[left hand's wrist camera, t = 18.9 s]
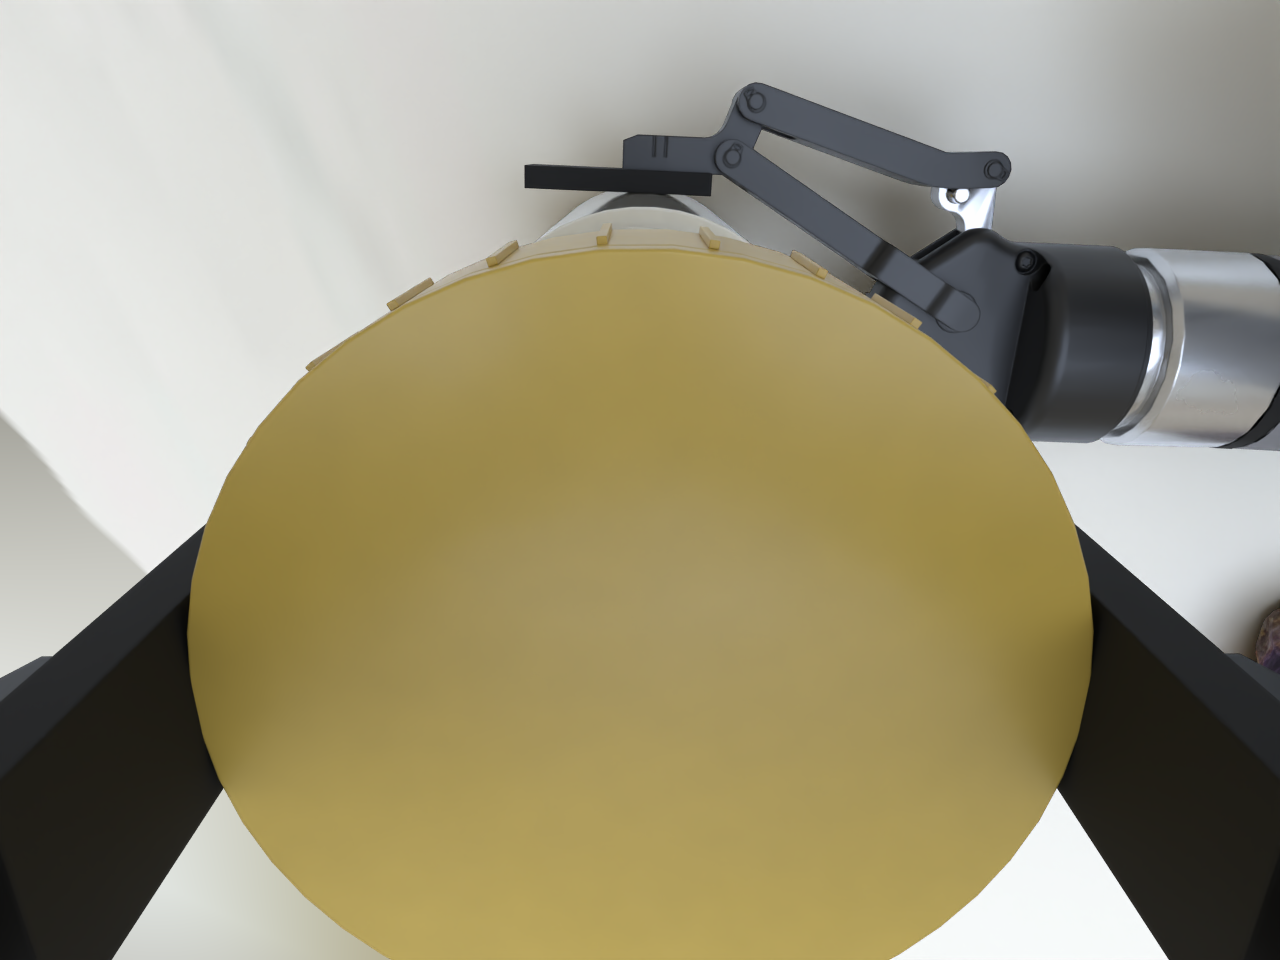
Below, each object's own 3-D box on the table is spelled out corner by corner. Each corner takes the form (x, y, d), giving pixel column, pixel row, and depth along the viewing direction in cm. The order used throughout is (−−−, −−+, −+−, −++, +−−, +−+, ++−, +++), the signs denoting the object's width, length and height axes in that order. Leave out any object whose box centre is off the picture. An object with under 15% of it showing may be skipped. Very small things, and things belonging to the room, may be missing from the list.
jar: (796, 313, 39) (909, 430, 23) (630, 449, 41) (623, 645, 25) (653, 134, 36) (664, 119, 20) (485, 290, 39) (369, 392, 22)
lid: (103, 582, 12) (-11, 674, 10) (681, 15, 10) (693, -23, 8) (612, 992, 15) (607, 1132, 13) (1162, 639, 13) (1269, 740, 10)
